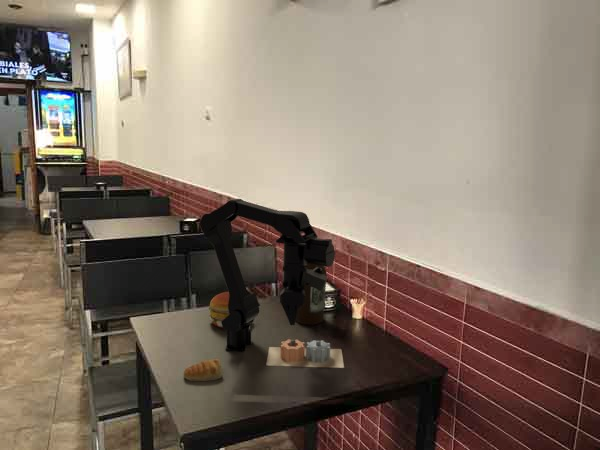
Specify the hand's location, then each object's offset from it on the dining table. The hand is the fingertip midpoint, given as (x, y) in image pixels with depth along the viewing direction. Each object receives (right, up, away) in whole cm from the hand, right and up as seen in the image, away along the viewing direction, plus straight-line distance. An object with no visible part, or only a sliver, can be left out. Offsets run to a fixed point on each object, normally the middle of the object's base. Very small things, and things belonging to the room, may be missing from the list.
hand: (293, 318), depth 131 cm
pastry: (-22, -13, -7) cm, 27 cm away
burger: (-20, -7, +27) cm, 34 cm away
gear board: (+3, -12, +2) cm, 12 cm away
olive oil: (+5, -7, +31) cm, 32 cm away
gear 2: (+7, -11, +2) cm, 13 cm away
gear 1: (0, -11, +2) cm, 11 cm away
